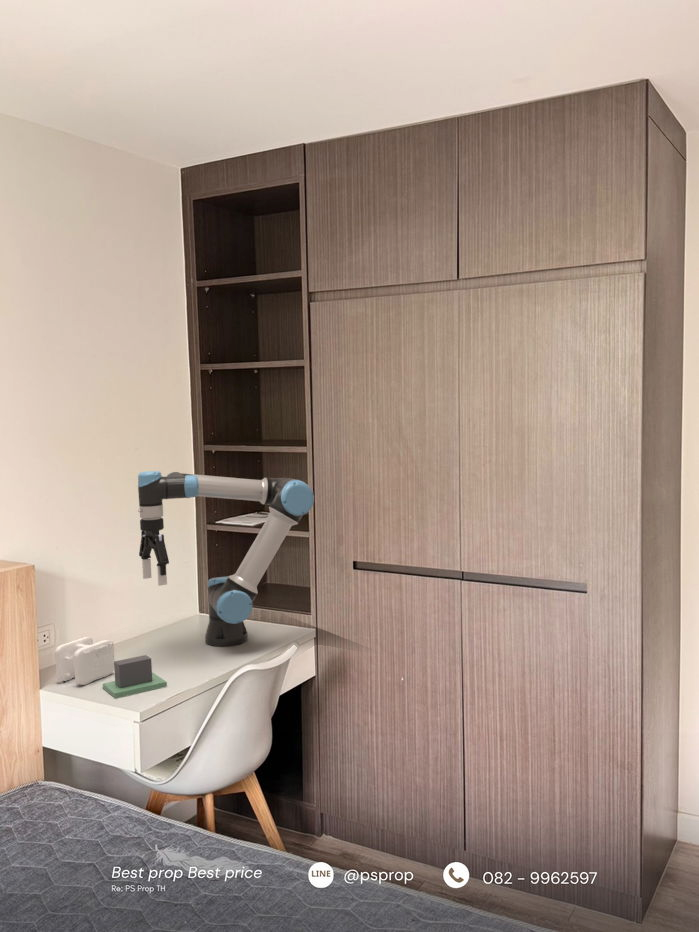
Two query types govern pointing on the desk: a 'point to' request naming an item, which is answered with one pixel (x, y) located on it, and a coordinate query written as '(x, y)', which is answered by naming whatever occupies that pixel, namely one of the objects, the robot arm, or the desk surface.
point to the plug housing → (133, 671)
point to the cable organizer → (84, 660)
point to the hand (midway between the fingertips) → (154, 581)
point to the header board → (134, 687)
